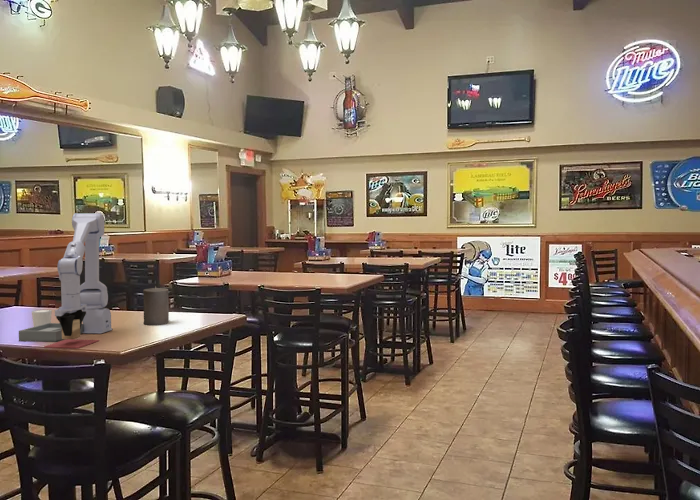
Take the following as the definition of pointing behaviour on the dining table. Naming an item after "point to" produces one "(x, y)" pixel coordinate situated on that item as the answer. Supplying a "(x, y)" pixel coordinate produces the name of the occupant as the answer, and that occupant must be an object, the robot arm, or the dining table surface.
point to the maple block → (73, 330)
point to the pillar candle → (156, 306)
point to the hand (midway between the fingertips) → (72, 334)
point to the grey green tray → (44, 333)
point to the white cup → (41, 317)
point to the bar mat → (71, 343)
